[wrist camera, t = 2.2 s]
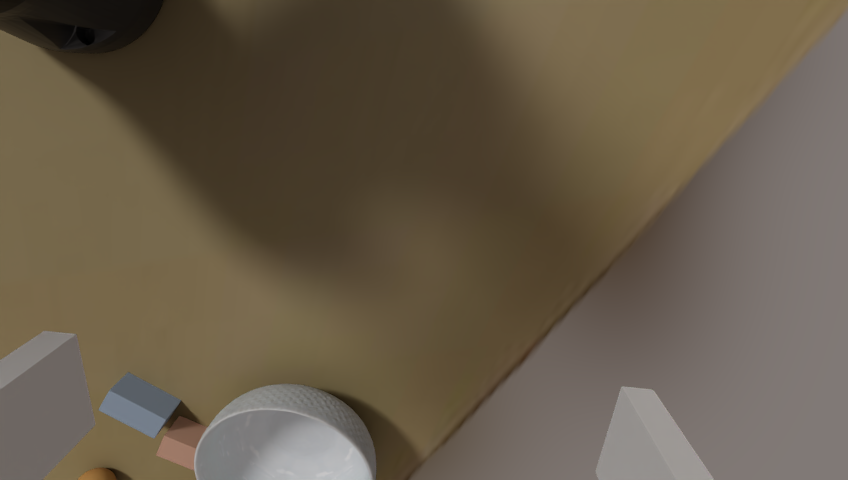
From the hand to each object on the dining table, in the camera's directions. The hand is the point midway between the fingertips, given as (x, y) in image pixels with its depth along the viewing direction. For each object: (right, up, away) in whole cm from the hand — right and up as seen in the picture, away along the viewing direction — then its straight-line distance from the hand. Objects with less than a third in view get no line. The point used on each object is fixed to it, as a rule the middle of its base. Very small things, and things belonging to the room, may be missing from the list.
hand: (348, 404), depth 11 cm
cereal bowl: (-11, -16, +37) cm, 42 cm away
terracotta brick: (-22, -17, +38) cm, 48 cm away
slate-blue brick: (-27, -12, +36) cm, 47 cm away
